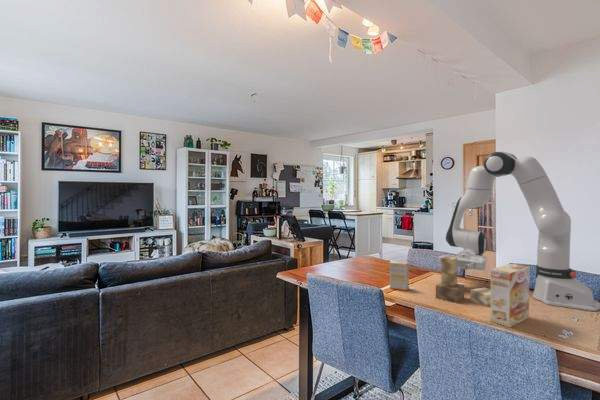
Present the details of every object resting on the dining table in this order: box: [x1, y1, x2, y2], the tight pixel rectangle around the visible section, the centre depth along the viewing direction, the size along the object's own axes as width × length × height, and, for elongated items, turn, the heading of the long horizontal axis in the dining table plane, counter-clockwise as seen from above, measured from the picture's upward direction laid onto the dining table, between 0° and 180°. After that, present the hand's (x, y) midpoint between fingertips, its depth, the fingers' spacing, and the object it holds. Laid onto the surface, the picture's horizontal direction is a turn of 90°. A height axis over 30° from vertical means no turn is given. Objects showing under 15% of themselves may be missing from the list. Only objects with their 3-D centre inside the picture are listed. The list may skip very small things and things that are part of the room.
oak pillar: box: [440, 256, 458, 287], centre depth 145 cm, size 5×5×12 cm
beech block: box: [469, 287, 491, 307], centre depth 139 cm, size 8×8×5 cm
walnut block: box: [435, 282, 465, 304], centre depth 145 cm, size 9×9×6 cm
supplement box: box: [389, 260, 410, 292], centre depth 160 cm, size 8×5×13 cm, turn 58°
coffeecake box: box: [489, 263, 531, 328], centre depth 121 cm, size 15×7×20 cm, turn 123°
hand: (455, 265), depth 150 cm, fingers open, 8 cm apart
